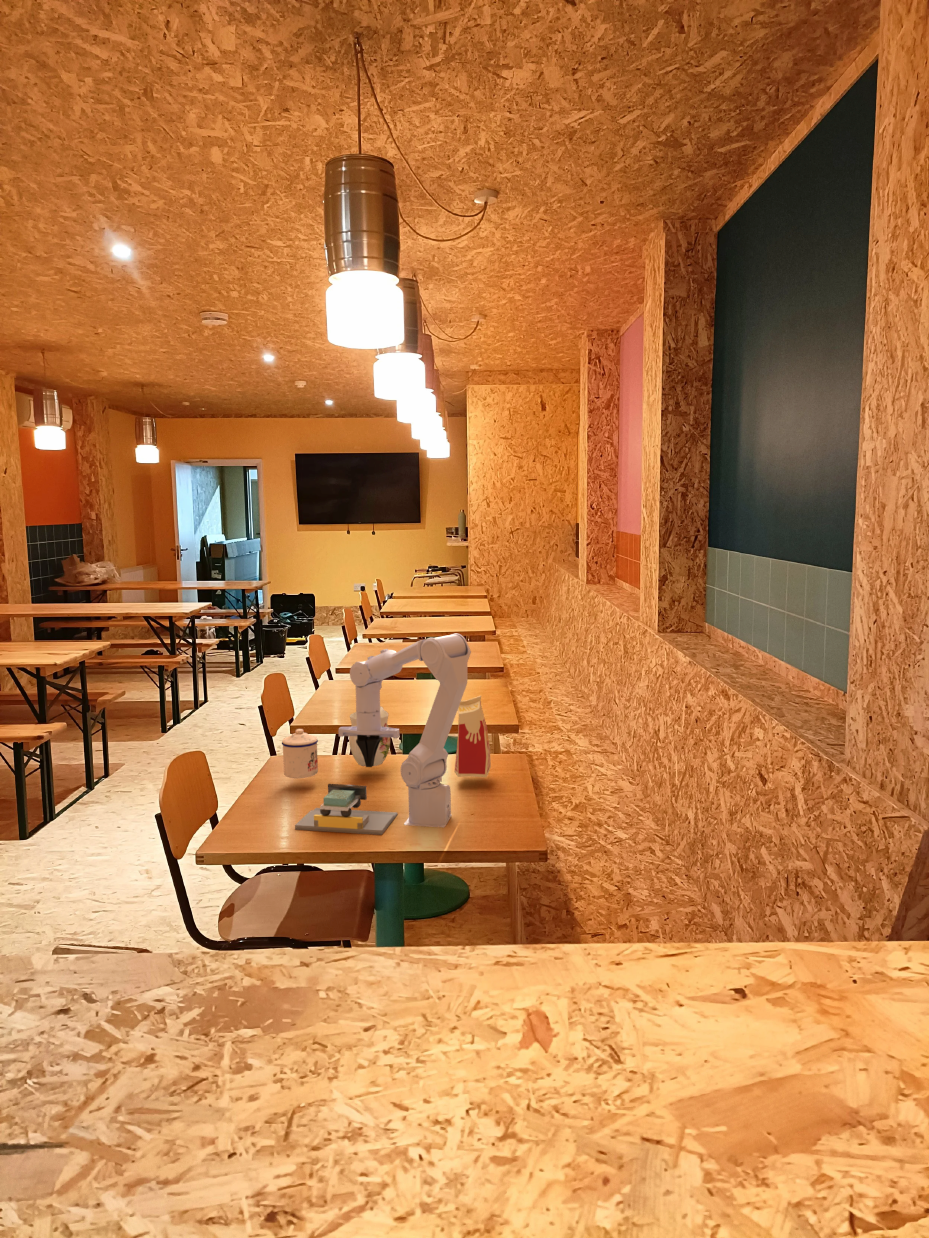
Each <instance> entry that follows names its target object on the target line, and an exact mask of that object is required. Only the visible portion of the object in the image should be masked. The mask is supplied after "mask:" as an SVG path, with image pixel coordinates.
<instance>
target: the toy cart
mask: <svg viewBox="0 0 929 1238" xmlns="http://www.w3.org/2000/svg"><path fill="white" fill-rule="evenodd" d="M367 797H368V796H367V785H360V784H359V785H358V784H340V783H328V784H327V794H325V796H324V797H323V803H322V804H321V805H319V808H320V813H321V815H323V816H328V815H329V814H330V813H331V810H340V811H341V815H342V816H343V817H349V816H350V815H351V813H352V810H353V809H352V808H354V809H358V808H360V806H361V804H362V801H366V800H367Z"/></svg>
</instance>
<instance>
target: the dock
mask: <svg viewBox="0 0 929 1238" xmlns="http://www.w3.org/2000/svg"><path fill="white" fill-rule="evenodd" d="M351 810H352V813H351V815H350V816H349V817H343V816H342V815H341V811H340V810H331V813H330V814H329V815H328V816H323V815H321V813H320V807H315V808H314V809H311V810H309V811H308V813H306V814H305V816H303V817H302V818H301V819H300V820H299V821H298V822H296V823H295V825H294V830H301V831H313V832H314V831H316V832H331V833H332V832H333V833H347V834H350V833H351V834H361V835H378V836H382V835H383V834H384V833H385V831H386V830H387V829H388V828H389V826H390V825H391V823H393V821H394V820H395V819H396V817H397V816H398V811H397V812H396V811H395V812H393V811H378V810H375V811H374V810H360V809H359V810H358V809H351Z"/></svg>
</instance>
